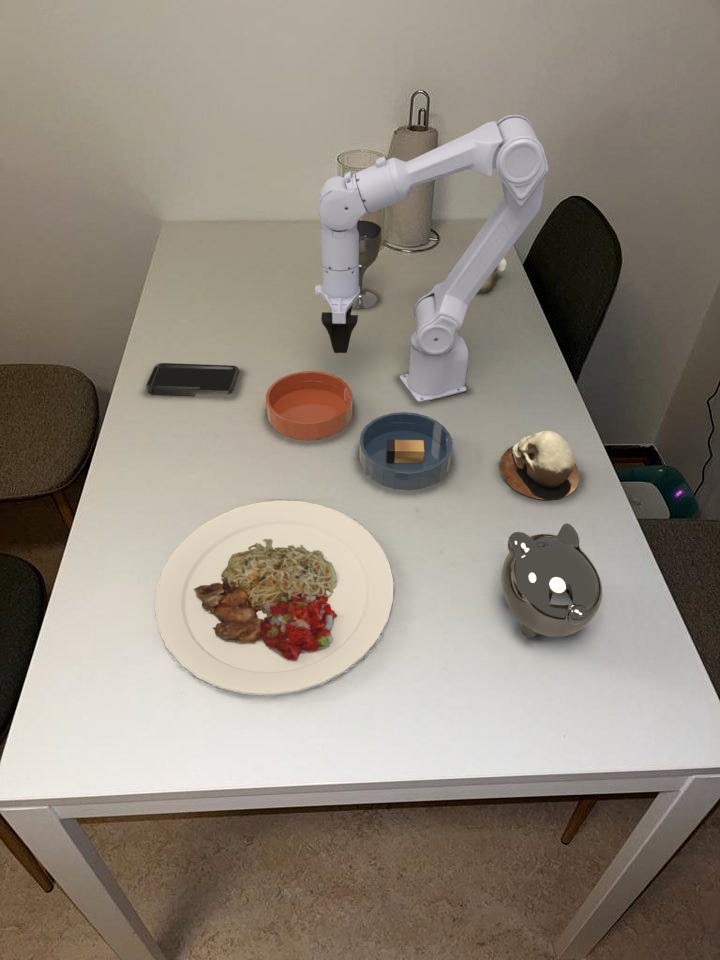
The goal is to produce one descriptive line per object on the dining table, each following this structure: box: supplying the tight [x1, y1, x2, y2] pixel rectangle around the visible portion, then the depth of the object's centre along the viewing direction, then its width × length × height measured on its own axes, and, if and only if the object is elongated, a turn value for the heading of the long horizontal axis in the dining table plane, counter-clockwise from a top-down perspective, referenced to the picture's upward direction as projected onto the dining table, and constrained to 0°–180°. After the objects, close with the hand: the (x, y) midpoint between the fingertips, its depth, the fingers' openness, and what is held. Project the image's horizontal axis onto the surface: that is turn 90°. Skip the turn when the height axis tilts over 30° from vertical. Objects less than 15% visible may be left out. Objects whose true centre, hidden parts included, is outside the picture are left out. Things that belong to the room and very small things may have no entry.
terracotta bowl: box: [265, 370, 353, 441], centre depth 113 cm, size 14×14×4 cm
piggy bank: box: [500, 523, 603, 639], centre depth 83 cm, size 11×15×12 cm
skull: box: [499, 430, 581, 501], centre depth 104 cm, size 12×10×10 cm
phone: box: [145, 362, 240, 397], centre depth 121 cm, size 8×1×15 cm
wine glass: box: [352, 219, 382, 310], centre depth 137 cm, size 8×8×15 cm
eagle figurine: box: [477, 257, 507, 294], centre depth 145 cm, size 8×7×9 cm
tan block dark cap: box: [386, 439, 424, 464], centre depth 106 cm, size 6×3×3 cm, turn 89°
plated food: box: [154, 499, 394, 696], centre depth 87 cm, size 30×30×3 cm
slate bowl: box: [358, 411, 454, 491], centre depth 106 cm, size 14×14×4 cm
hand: (341, 338), depth 114 cm, fingers open, 7 cm apart
